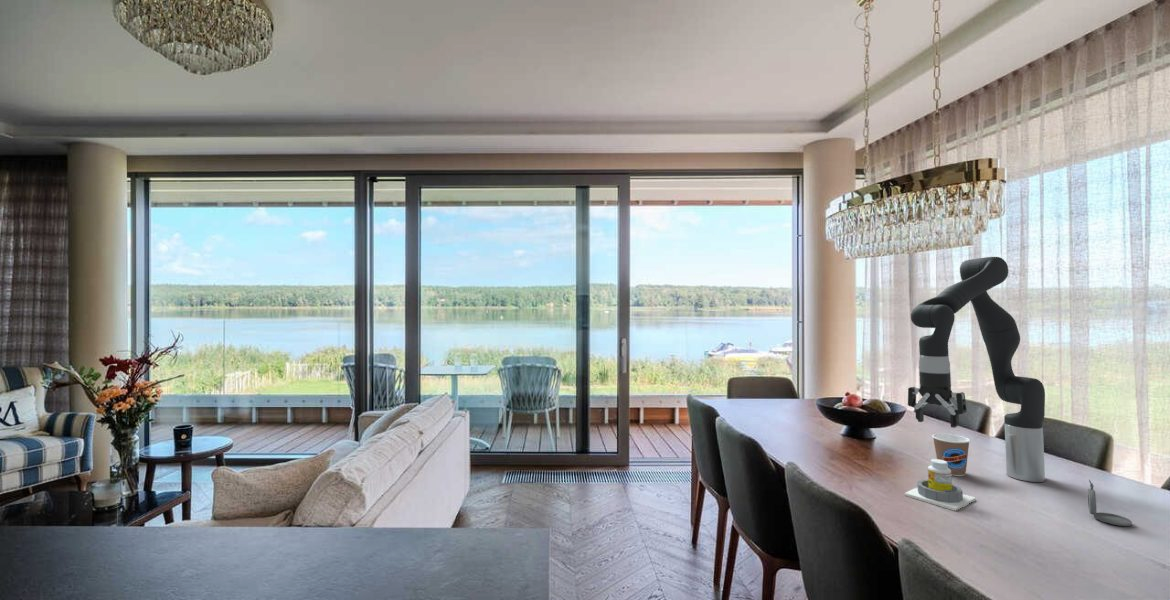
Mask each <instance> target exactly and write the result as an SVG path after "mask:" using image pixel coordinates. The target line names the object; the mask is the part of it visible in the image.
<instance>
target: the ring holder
mask: <svg viewBox="0 0 1170 600" xmlns="http://www.w3.org/2000/svg"><path fill="white" fill-rule="evenodd" d="M916 483H917V487H914V488H912V489H910V490H908V491H906V492H904V496H905V497H908V498H912V499H915V500H918V501H921V502H925V503H928V504H931V505H935V506H939V507H942V508H944V509H947V510H948V509H949V510H952V511H954V510H955V511H954V512H957V511H959V510H961V509H962V507H963V508H965V507H966V506H968V505H970V504H971V502H972V503H973V502H975V501H976V500H977V499H976V497H975V496H971V495H967V494H964V493H963V489H962V488H961V487H960V486H959V485H956V484H953V483H952V492H944V491H937V490H933V489H930V488H929V482H928V479H920V480H918V481H917V482H916ZM969 503H970V504H969ZM960 508H961V509H960ZM958 509H959V510H958ZM956 510H957V511H956Z"/></svg>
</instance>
